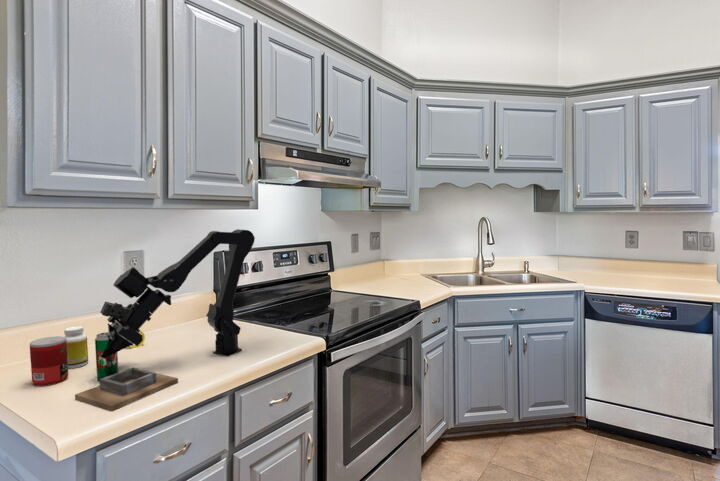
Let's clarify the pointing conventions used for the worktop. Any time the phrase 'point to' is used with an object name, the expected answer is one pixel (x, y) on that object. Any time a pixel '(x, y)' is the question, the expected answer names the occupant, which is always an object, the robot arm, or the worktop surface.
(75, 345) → the pill bottle
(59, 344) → the canned food
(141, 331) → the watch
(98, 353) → the soda can
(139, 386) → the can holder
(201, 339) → the worktop surface
